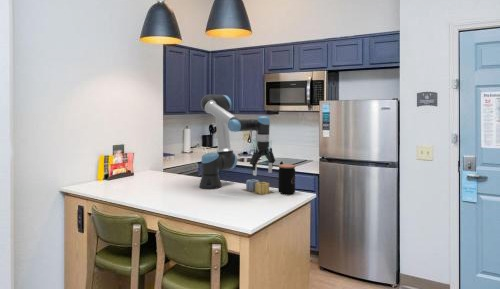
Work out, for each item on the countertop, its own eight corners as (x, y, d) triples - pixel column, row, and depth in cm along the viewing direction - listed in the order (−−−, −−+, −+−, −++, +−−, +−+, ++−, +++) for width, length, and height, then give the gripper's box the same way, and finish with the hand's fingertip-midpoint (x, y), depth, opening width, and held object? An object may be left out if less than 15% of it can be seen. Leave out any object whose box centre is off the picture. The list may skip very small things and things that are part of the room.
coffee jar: (294, 195, 230) (294, 167, 228) (277, 194, 232) (277, 166, 230) (295, 191, 240) (295, 164, 238) (279, 190, 242) (279, 164, 241)
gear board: (240, 191, 241) (240, 183, 240) (254, 188, 249) (254, 180, 248) (261, 196, 226) (261, 188, 226) (275, 193, 234) (275, 185, 234)
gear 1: (243, 190, 240) (243, 181, 239) (250, 187, 247) (250, 178, 246) (254, 191, 235) (254, 182, 235) (261, 189, 242) (261, 180, 242)
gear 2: (252, 192, 234) (252, 182, 234) (262, 190, 239) (262, 181, 239) (261, 194, 227) (261, 185, 227) (271, 192, 232) (271, 183, 232)
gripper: (252, 142, 219) (252, 177, 222) (281, 140, 236) (280, 172, 238) (244, 141, 225) (243, 175, 227) (272, 139, 241) (272, 170, 244)
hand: (262, 174), depth 233 cm, fingers open, 13 cm apart
